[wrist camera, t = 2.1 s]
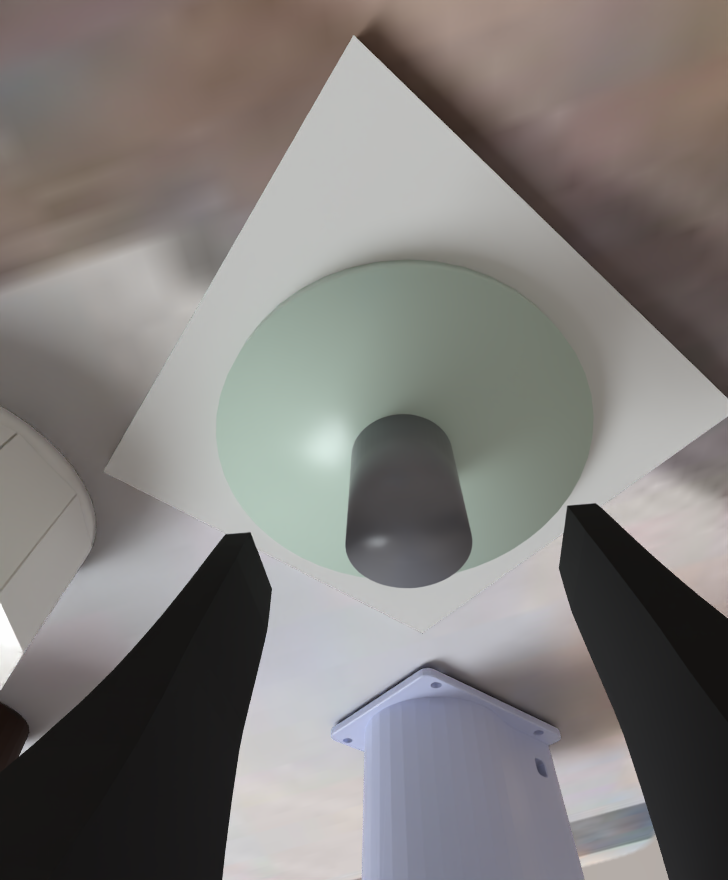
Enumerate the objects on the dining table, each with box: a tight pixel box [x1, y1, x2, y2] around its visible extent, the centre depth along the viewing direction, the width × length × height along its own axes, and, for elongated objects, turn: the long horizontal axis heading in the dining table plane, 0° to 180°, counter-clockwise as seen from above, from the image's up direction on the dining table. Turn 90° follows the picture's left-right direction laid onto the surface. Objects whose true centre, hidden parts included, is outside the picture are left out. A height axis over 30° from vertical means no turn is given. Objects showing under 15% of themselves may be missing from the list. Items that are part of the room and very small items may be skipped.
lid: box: [216, 260, 594, 588], centre depth 13 cm, size 11×11×4 cm
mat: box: [103, 35, 728, 634], centre depth 15 cm, size 14×14×1 cm
